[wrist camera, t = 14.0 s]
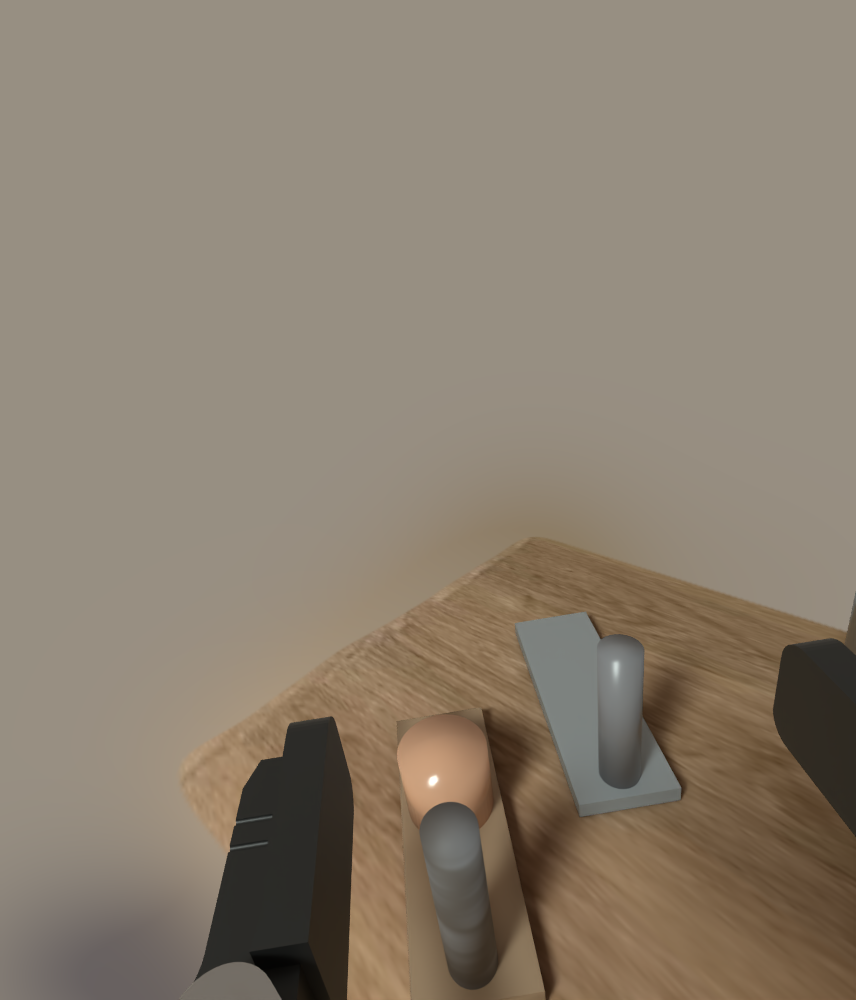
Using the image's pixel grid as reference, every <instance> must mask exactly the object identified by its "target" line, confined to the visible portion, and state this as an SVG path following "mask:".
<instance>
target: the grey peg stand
mask: <svg viewBox="0 0 856 1000" xmlns="http://www.w3.org/2000/svg"><path fill="white" fill-rule="evenodd" d="M515 631H516V636H517V638H518V641H519V644H520V647H521V650H522V653H523V656H524V659H525V661H526V664H527V667H528V670H529V673H530V676H531V679H532V682H533V684H534V687H535V690H536V693H537V696H538V699H539V702H540V705H541V707H542V710H543V713H544V716H545V719H546V722H547V725H548V728H549V730H550V733H551V736H552V739H553V742H554V745H555V748H556V751H557V753H558V756H559V759H560V762H561V765H562V768H563V771H564V774H565V776H566V779H567V782H568V785H569V788H570V791H571V794H572V796H573V799H574V802H575V805H576V808H577V811H578V814H579V817H583V816H589V815H595V814H601V813H607V812H613V811H618V810H624V809H630V808H636V807H642V806H648V805H654V804H660V803H666V802H671V801H677V800H681V786H680V784H679V783H678V781H677V779H676V777H675V775H674V773H673V772H672V770H671V768H670V766H669V764H668V762H667V761H666V759H665V757H664V755H663V753H662V751H661V750H660V748H659V746H658V744H657V742H656V740H655V738H654V737H653V735H652V733H651V731H650V729H649V727H648V726H647V724H646V722H645V720H644V718H643V716H642V709H643V676H644V648H643V646H642V644H641V643H640V642H639V641H638V640H636V639H635V638H633V637H630V636H627V635H620V634H615V635H609V636H606V637H604V638H602V639H600V637H599V636H598V634H597V632H596V630H595V628H594V626H593V625H592V623H591V621H590V619H589V617H588V615H587V613H586V612H581V613H575V614H569V615H563V616H556V617H550V618H544V619H538V620H532V621H526V622H520V623H515Z"/></svg>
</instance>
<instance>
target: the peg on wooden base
mask: <svg viewBox="0 0 856 1000" xmlns="http://www.w3.org/2000/svg"><path fill="white" fill-rule="evenodd" d="M444 714H449V715H457V716H461V717H464V718H466V719H469V720H470V721H472V722H473V723H475V724H476V725H477V726H478V727H479V728H480V729H481V731H482V732H483V734H484V736H485V738H486V741H487V749H488V757H489V765H490V773H491V781H492V789H493V797H494V803H493V809H492V812H491V814H490V817H489V818H488V820H487V821H486V823H485V824H484V825H483V826H482V827H481V828H480V829H479V824H478V820H477V817H476V816H475V814H474V812H473V811H472V810H471V809H470V808H468V807H467V806H465V805H464V804H461V803H457V802H444V803H441V804H438V805H436V806H434V807H433V808H431V809H430V810H429V811H428V812H427V813H426V814H425V816H424V817H423V819H422V821H421V824H420V829H418V828H417V827H416V826H415V825H414V823H413V822H412V819H411V817H410V814H409V810H408V806H407V801H406V797H405V792H404V788H403V783H402V778H401V774H400V769H399V777H400V796H401V816H402V836H403V855H404V875H405V895H406V914H407V934H408V954H409V973H410V993H411V1000H546V999H545V990H544V985H543V981H542V976H541V972H540V967H539V963H538V959H537V954H536V950H535V945H534V941H533V936H532V932H531V927H530V923H529V919H528V914H527V910H526V905H525V901H524V896H523V892H522V887H521V883H520V878H519V874H518V870H517V865H516V861H515V856H514V852H513V847H512V843H511V838H510V834H509V829H508V825H507V821H506V816H505V812H504V807H503V803H502V798H501V794H500V789H499V785H498V780H497V776H496V772H495V767H494V763H493V758H492V754H491V749H490V745H489V740H488V736H487V731H486V727H485V723H484V718H483V714H482V709H481V707H480V708H474V709H468V710H462V711H456V712H450V713H444ZM444 714H438V715H444ZM432 716H436V715H432ZM428 717H431V716H426V717H420V718H414V719H408V720H402V721H397V737H398V746H399V743H400V741H401V739H402V737H403V736H404V734H405V733H406V732H407V731H408V730H409V729H410V728H411V727H412V726H413V725H415V724H416V723H418V722H419V721H421V720H423V719H426V718H428Z"/></svg>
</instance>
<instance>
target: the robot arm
mask: <svg viewBox="0 0 856 1000" xmlns="http://www.w3.org/2000/svg"><path fill="white" fill-rule="evenodd" d="M773 715H774V721H775V725H776V728H777V730H778V733H779V735H780V737H781V739H782V741H783V742H784V744H785V745H786V747H787V748H788V750H789V751H790V752H791V753H792V755H793V756H794V757H795V759H796V760H797V761H798V763H799V764H800V765H801V766H802V768H803V769H804V770H805V772H806V773H807V774H808V776H809V777H810V778H811V779H812V781H813V782H814V783H815V785H816V786H817V787H818V788H819V790H820V791H821V792H822V794H823V795H824V796H825V798H826V799H827V800H828V801H829V803H830V804H831V805H832V807H833V808H834V809H835V811H836V812H837V813H838V814H839V816H840V817H841V818H842V820H843V821H844V822H845V824H846V825H847V826H848V827H849V829H850V830H851V831H852V833H853V834H854V835H855V837H856V593H855V598H854V603H853V608H852V612H851V617H850V622H849V626H848V631H847V635H846V640H845V645H844V644H843V643H842V642H840V641H838V640H836V639H832V638H830V639H823V640H817V641H811V642H805V643H798V644H792V645H788V646H786V647H785V648H784V650H783V652H782V657H781V663H780V669H779V675H778V682H777V688H776V694H775V700H774V707H773ZM353 818H354V804H353V791H352V783H351V778H350V773H349V770H348V766H347V762H346V759H345V755H344V751H343V748H342V744H341V741H340V737H339V733H338V730H337V726H336V723H335V720H334V718H333V717H325V718H319V719H313V720H306V721H300V722H294V723H290V724H289V726H288V729H287V734H286V739H285V745H284V751H283V757H278V758H272V759H265V760H261V761H260V763H259V764H258V766H257V768H256V769H255V771H254V772H253V774H252V775H251V777H250V778H249V780H248V782H247V783H246V785H245V786H244V788H243V791H242V795H241V799H240V804H239V808H238V812H237V817H236V826H234V830H233V834H232V838H231V843H230V852H228V855H227V860H226V864H225V869H224V873H223V877H222V881H221V886H220V890H219V894H218V899H217V903H216V907H215V912H214V916H213V921H212V925H211V929H210V934H209V938H208V942H207V946H206V951H205V955H204V958H203V962H202V965H201V967H200V970H199V972H198V975H197V977H196V979H195V981H194V982H193V984H192V985H191V986H190V987H189V988H188V989H187V990H186V991H185V992H184V993H183V995H182V996H181V997H180V998H179V999H178V1000H347V980H348V953H349V926H350V899H351V872H352V845H353Z"/></svg>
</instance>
